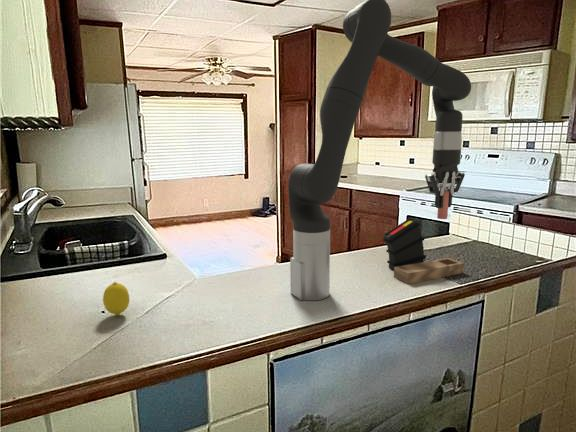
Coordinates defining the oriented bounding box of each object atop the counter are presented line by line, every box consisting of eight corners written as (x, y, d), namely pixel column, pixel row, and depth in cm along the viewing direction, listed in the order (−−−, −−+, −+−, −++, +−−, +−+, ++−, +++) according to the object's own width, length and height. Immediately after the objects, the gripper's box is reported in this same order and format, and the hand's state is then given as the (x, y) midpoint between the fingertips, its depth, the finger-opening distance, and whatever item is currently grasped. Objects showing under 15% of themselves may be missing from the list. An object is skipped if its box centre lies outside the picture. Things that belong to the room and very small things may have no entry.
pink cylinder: (442, 219, 123) (444, 188, 121) (435, 217, 125) (437, 187, 124) (449, 218, 124) (451, 188, 122) (442, 216, 127) (444, 187, 125)
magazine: (433, 260, 130) (418, 219, 125) (400, 283, 127) (383, 241, 122) (425, 257, 134) (410, 216, 129) (392, 279, 131) (376, 238, 126)
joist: (407, 283, 115) (408, 273, 115) (393, 277, 121) (394, 267, 120) (463, 272, 124) (464, 263, 123) (448, 267, 129) (448, 257, 128)
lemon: (103, 322, 94) (99, 287, 92) (106, 312, 99) (103, 279, 98) (129, 318, 95) (126, 285, 94) (131, 309, 101) (128, 277, 99)
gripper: (454, 147, 127) (450, 203, 130) (419, 148, 121) (415, 207, 124) (475, 147, 120) (470, 207, 124) (438, 148, 114) (434, 211, 118)
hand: (443, 207), depth 124 cm, fingers closed on pink cylinder, 2 cm apart
